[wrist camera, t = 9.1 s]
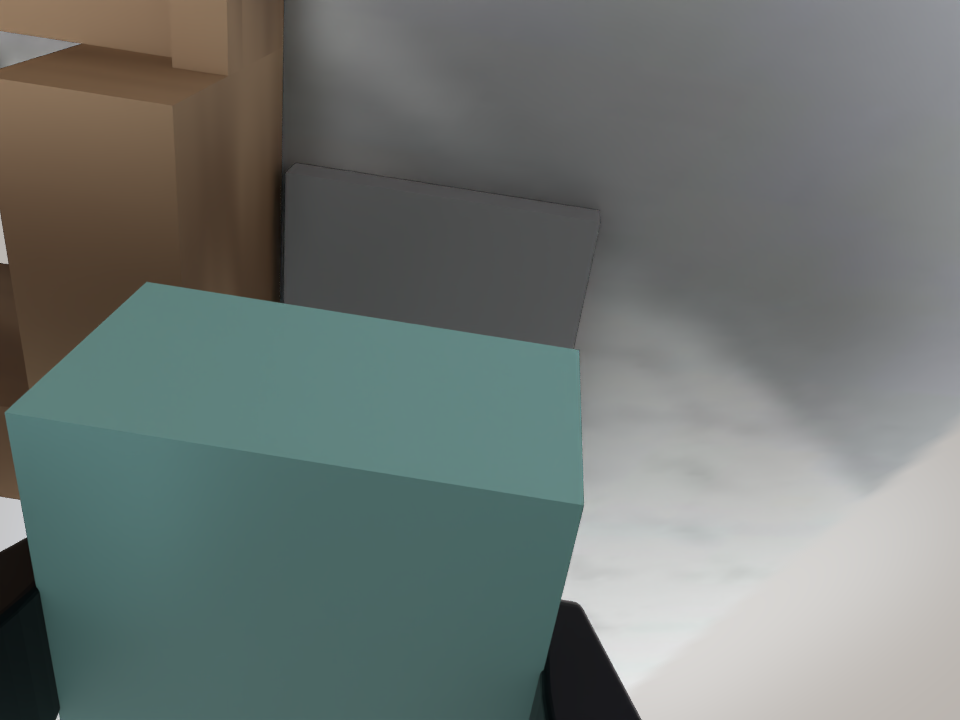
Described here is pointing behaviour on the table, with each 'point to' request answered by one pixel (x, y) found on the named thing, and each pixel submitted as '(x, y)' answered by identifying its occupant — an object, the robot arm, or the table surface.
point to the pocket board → (133, 168)
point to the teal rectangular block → (297, 513)
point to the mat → (436, 255)
